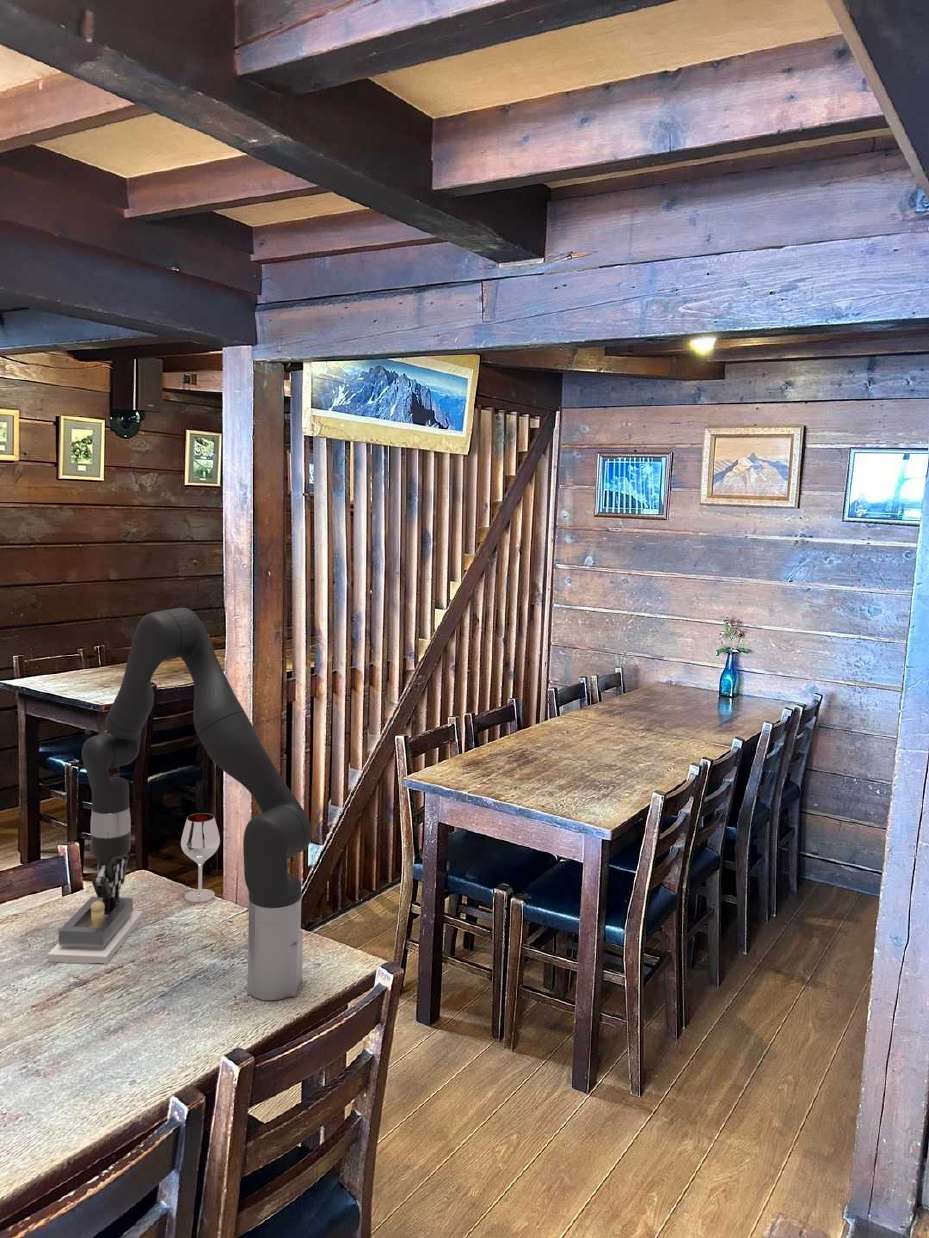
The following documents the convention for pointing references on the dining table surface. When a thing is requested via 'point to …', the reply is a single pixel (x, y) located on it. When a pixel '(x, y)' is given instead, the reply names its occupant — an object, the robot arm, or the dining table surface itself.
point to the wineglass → (200, 848)
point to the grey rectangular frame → (91, 936)
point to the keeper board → (96, 953)
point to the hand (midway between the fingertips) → (111, 910)
